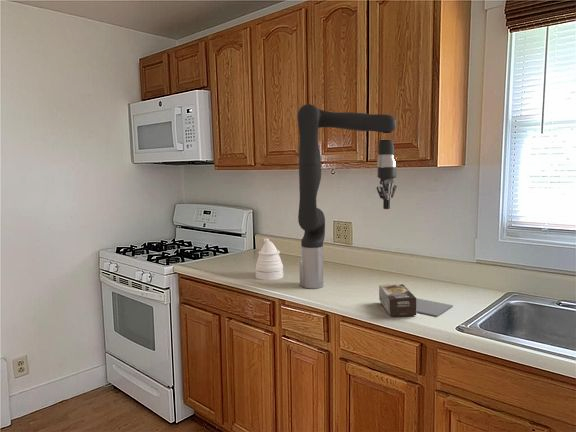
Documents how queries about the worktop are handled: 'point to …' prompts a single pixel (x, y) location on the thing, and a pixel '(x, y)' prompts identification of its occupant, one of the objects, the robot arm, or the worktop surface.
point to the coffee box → (397, 300)
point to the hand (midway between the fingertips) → (386, 208)
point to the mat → (431, 307)
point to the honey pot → (269, 262)
